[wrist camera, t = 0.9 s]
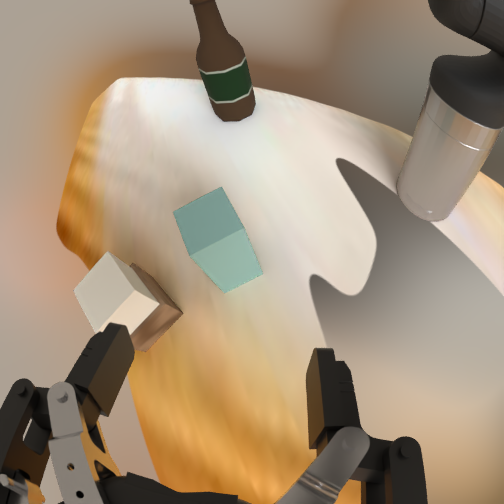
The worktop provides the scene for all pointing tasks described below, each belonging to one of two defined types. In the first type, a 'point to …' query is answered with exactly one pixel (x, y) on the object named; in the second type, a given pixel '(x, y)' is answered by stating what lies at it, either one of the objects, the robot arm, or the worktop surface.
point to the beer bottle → (222, 65)
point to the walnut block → (154, 314)
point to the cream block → (114, 295)
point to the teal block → (218, 240)
